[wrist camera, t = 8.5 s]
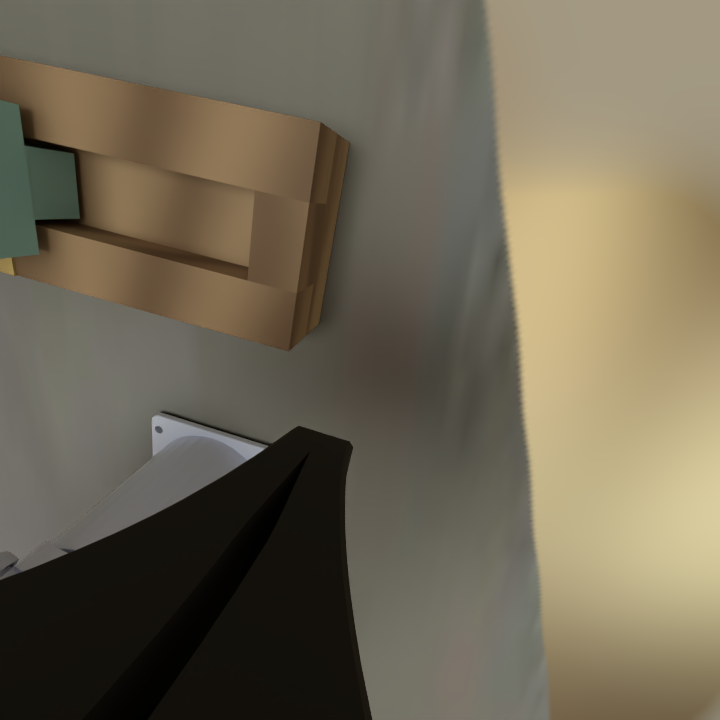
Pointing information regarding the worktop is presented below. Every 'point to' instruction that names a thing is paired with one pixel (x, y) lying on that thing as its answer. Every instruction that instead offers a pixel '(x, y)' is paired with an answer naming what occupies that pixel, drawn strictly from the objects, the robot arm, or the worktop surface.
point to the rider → (31, 186)
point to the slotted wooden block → (184, 202)
